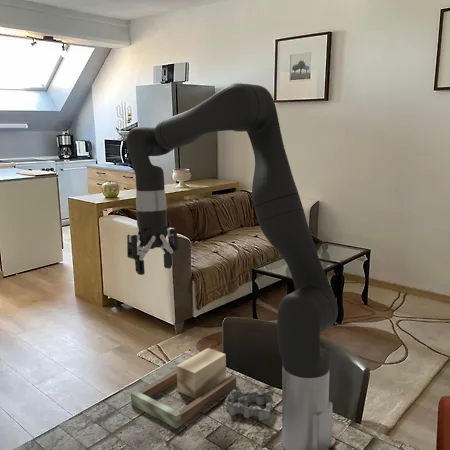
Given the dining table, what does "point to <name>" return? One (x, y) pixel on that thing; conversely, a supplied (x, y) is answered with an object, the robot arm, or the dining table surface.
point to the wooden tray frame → (178, 418)
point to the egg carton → (247, 397)
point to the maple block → (201, 372)
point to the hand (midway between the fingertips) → (154, 271)
